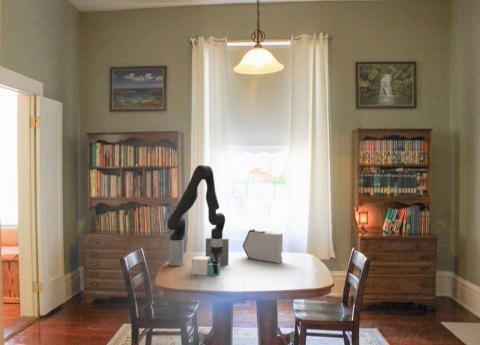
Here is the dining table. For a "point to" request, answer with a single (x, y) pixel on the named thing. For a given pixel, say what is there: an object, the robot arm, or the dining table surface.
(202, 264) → the cream rectangular block
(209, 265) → the teal rectangular block
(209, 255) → the hip flask
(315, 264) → the dining table surface
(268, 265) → the dining table surface
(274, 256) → the model house
